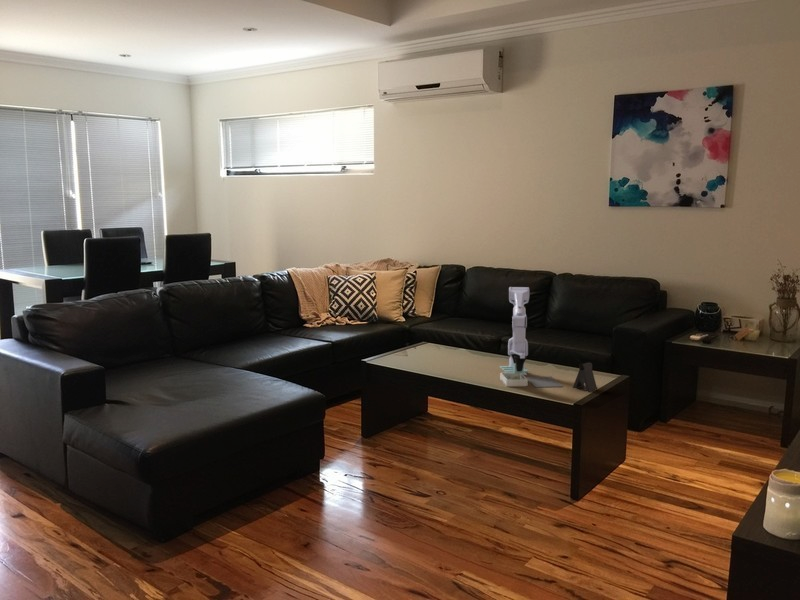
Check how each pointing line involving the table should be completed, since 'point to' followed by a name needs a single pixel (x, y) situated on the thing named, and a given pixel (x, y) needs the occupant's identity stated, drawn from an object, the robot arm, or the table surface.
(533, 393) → the table surface
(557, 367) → the table surface
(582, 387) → the phone stand
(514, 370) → the lid
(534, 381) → the mat
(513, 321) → the robot arm
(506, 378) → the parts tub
